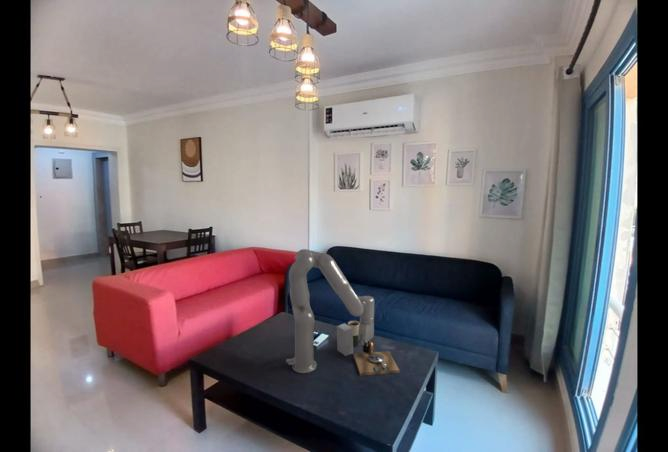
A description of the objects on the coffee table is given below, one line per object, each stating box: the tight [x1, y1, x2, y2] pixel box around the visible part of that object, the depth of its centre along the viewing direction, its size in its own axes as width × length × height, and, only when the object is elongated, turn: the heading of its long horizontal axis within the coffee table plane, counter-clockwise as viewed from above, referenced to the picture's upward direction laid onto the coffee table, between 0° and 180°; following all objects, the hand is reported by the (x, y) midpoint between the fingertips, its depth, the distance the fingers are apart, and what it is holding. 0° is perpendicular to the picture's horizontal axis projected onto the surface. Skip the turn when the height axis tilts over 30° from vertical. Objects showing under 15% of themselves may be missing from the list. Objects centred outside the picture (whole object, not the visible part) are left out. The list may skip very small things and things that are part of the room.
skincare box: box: [336, 323, 354, 357], centre depth 176 cm, size 8×6×15 cm
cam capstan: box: [368, 341, 386, 368], centre depth 164 cm, size 18×8×6 cm, turn 19°
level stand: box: [352, 350, 400, 377], centre depth 164 cm, size 20×18×2 cm
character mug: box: [347, 320, 360, 347], centre depth 184 cm, size 11×7×13 cm, turn 75°
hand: (366, 351), depth 169 cm, fingers closed
